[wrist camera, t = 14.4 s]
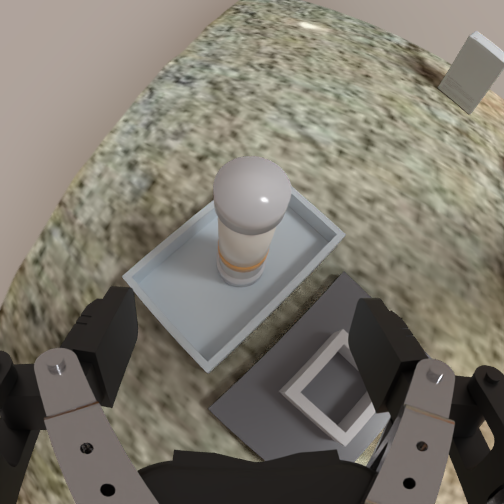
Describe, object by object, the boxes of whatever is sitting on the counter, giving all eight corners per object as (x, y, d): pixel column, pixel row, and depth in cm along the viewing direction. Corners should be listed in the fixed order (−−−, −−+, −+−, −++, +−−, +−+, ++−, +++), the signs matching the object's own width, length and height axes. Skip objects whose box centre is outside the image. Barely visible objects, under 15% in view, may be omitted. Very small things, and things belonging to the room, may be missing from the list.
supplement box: (469, 116, 41) (507, 65, 29) (436, 87, 42) (468, 33, 31) (478, 102, 43) (510, 56, 31) (447, 77, 45) (476, 28, 33)
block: (339, 275, 29) (354, 261, 25) (425, 360, 26) (448, 356, 23) (208, 407, 24) (206, 412, 20) (312, 495, 21) (324, 510, 18)
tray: (259, 177, 32) (262, 162, 29) (336, 246, 30) (346, 234, 27) (130, 285, 27) (121, 276, 24) (209, 373, 25) (207, 373, 22)
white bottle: (241, 233, 29) (253, 144, 17) (273, 265, 28) (307, 190, 17) (206, 263, 27) (197, 184, 16) (239, 297, 26) (252, 237, 15)
